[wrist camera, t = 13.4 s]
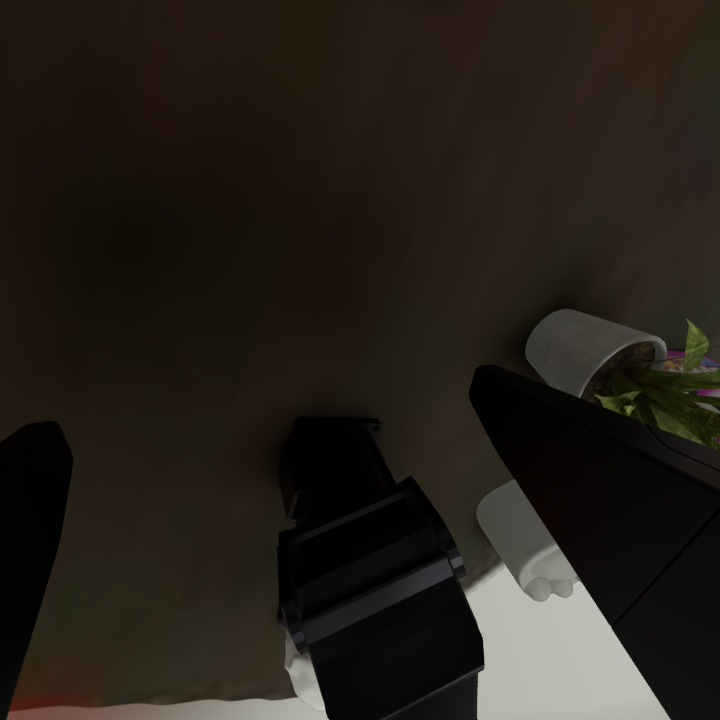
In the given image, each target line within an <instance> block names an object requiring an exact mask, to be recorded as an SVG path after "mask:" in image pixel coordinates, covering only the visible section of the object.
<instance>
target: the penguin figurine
mask: <svg viewBox="0 0 720 720" xmlns="http://www.w3.org/2000/svg"><path fill="white" fill-rule="evenodd" d="M285 668H286V669H287V671H288V672H289V673H290V677H291V681H292V683H293V686H294V690H295V693H296V694H297V696H298V697H299V698H300V699H301V701H303V702H304V703H305V704H307V705H309V706H311V707H312V708H313V709H314V710H318V711H319V710H324V709H325V706H324V701H323V699H322V696H321V692H320V689H319V685H318V682H317V679H316V675H315V672H314V669H313V665H312V662H311V658H310V655H307V656H305V657H302V656H301V655H300V654H299V652H298V651H297V649H296V647H295V645H294V642H293V640H292V638H291V636H290V633H289V632H287V637H286V659H285Z"/></svg>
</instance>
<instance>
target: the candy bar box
mask: <svg viewBox="0 0 720 720" xmlns="http://www.w3.org/2000/svg"><path fill="white" fill-rule="evenodd" d="M684 355H685V350H667V359H671V358H676V357H680V356H684ZM684 362H685V357H681V358H677V359H673V360H668V361H666V363H665V366H664V368H663V371H670V372H683V369H684ZM719 368H720V363H719V362H717V361H715V360H713V359H711V358H709V357H707V356H704V358H703V360H702V361H701V362H700V364H699V365H698V366H696V367H695V368H693V369H692V370H690V371H688V372H685V373H706V372H714V371H716V370H718V369H719ZM684 393H686V394H694V395H703V396H713V397H720V389H698V390H694V391H689V392H684ZM694 403H696V404H698V405H699V406H701V407H703V408H705V409H708V410H711V411H714V412H717V413H719V414H720V406H716V405H710V404H704V403H697V402H694ZM712 437H713V436H712ZM713 438H714V439H715V440H716V441H717V442H718V443H719V444H720V439H718V438H716V437H713ZM703 445H705V444H704V443H703ZM706 446H707V445H706Z"/></svg>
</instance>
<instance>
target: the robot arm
mask: <svg viewBox="0 0 720 720" xmlns="http://www.w3.org/2000/svg"><path fill="white" fill-rule="evenodd" d="M469 399H470V402H471V404H472V406H473V408H474V409H475V411H476V413H477V415H478V417H479V419H480V421H481V423H482V425H483V427H484V429H485V431H486V433H487V435H488V436H489V438H490V440H491V442H492V444H493V446H494V448H495V449H496V451H497V453H498V454H499V456H500V458H501V459H502V461H503V462H504V464H505V465H506V467H507V468H508V470H509V471H510V473H511V474H512V476H513V478H514V479H515V481H516V482H517V484H518V485H519V487H520V488H521V490H522V491H523V493H524V494H525V496H526V498H527V499H528V501H529V502H530V504H531V505H532V507H533V508H534V510H535V511H536V513H537V514H538V516H539V517H540V519H541V521H542V522H543V524H544V525H545V527H546V528H547V530H548V531H549V533H550V534H551V536H552V537H553V539H554V541H555V542H556V544H557V545H558V547H559V548H560V550H561V551H562V553H563V554H564V556H565V557H566V559H567V560H568V562H569V564H570V565H571V567H572V568H573V570H574V571H575V573H576V574H577V576H578V577H579V579H580V580H581V582H582V583H583V585H584V586H585V588H586V590H587V591H588V593H589V594H590V595H591V597H592V599H593V600H594V602H595V603H596V605H597V607H598V608H599V610H600V611H601V613H602V614H603V616H604V617H605V619H606V620H607V622H608V623H609V625H610V626H611V628H612V630H613V632H614V633H615V635H616V636H617V638H618V639H619V641H620V642H621V644H622V645H623V647H624V648H625V650H626V652H627V653H628V655H629V656H630V658H631V659H632V661H633V662H634V664H635V665H636V667H637V668H638V670H639V672H640V673H641V675H642V676H643V677H644V679H645V681H646V682H647V683H648V685H649V687H650V688H651V690H652V692H653V693H654V695H655V696H656V698H657V699H658V701H659V702H660V704H661V705H662V707H663V708H664V710H665V712H666V713H667V714H668V716H669V718H670V719H671V720H720V450H717V449H714V448H711V447H709V446H706V445H703V444H700V443H697V442H694V441H692V440H689V439H686V438H683V437H681V436H678V435H675V434H673V433H670V432H667V431H665V430H662V429H659V428H657V427H654V426H652V425H649V424H647V423H642V422H641V421H639V420H636V419H633V418H631V417H628V416H626V415H623V414H620V413H618V412H615V411H613V410H610V409H608V408H605V407H602V406H600V405H597V404H595V403H592V402H589V401H587V400H584V399H582V398H579V397H576V396H574V395H571V394H569V393H566V392H564V391H561V390H558V389H556V388H553V387H551V386H548V385H545V384H543V383H540V382H538V381H535V380H532V379H530V378H527V377H525V376H522V375H519V374H517V373H514V372H512V371H509V370H507V369H504V368H501V367H499V366H496V365H492V364H491V365H483V366H479V367H478V368H477V369H476V370H475V373H474V376H473V380H472V383H471V387H470V390H469ZM301 425H304V426H302V427H301ZM375 426H376V427H375ZM373 427H374V428H373ZM381 429H382V426H381V424H380V422H379V421H378V420H364V419H326V418H300V419H298V420H297V421H296V422H295V425H294V428H293V432H292V436H291V439H290V443H289V445H287V446H286V447H285V448H284V451H283V455H282V459H281V462H280V466H279V470H278V476H279V487H280V488H281V492H282V497H283V502H284V507H285V512H286V517H287V519H288V520H289V521H296V526H297V527H295V528H293V529H290V530H288V529H286V530H284V531H282V532H279V546H277V554H278V579H279V606H278V614H277V617H278V623H279V626H280V627H281V628H282V629H284V630H286V631H287V632H289V633H290V636H291V638H292V640H293V642H294V645H295V647H296V649H297V651H298V652H299V654H300V655H301V656H302V657H305V656H307V655H310V658H311V662H312V665H313V669H314V672H315V675H316V679H317V682H318V685H319V689H320V692H321V696H322V699H323V701H324V706H325V710H326V714H327V717H328V719H329V720H477V687H478V672H480V671H482V670H484V649H483V638H482V635H481V633H480V631H479V629H478V625H477V622H476V619H475V617H474V615H473V612H472V610H471V608H470V606H469V603H468V601H467V599H466V596H465V594H464V592H463V589H462V587H461V585H460V581H462V580H464V579H466V571H465V568H464V564H463V561H462V559H461V556H460V553H459V551H458V549H457V546H456V544H455V542H454V540H453V538H452V536H451V534H450V532H449V530H448V528H447V526H446V525H445V523H444V521H443V520H442V518H441V516H440V515H439V514H438V512H437V511H436V509H435V508H434V507H433V505H432V504H431V502H430V501H429V499H428V498H427V497H426V495H425V494H424V492H423V491H422V490H421V488H420V487H419V485H418V484H417V483H416V481H415V480H414V478H413V477H412V476H410V477H408V478H406V479H404V481H402V482H400V483H398V484H396V482H395V480H394V479H393V477H392V475H391V473H390V471H389V469H388V467H387V465H386V463H385V461H384V459H383V457H382V455H381V453H380V451H379V449H378V447H377V445H376V441H377V438H378V436H379V434H380V431H381ZM72 467H73V456H72V452H71V450H70V448H69V445H68V443H67V441H66V439H65V437H64V434H63V432H62V430H61V428H60V426H59V424H58V423H57V422H54V421H46V422H38V423H31V424H27V425H25V426H23V427H22V428H20V429H19V430H17V431H16V432H15V433H13V434H12V435H10V436H9V437H7V438H6V439H5V440H3V441H2V442H0V720H6V719H7V716H8V712H9V709H10V706H11V703H12V699H13V696H14V693H15V689H16V686H17V683H18V679H19V676H20V673H21V669H22V666H23V663H24V660H25V656H26V653H27V650H28V646H29V643H30V640H31V636H32V633H33V630H34V627H35V623H36V620H37V617H38V613H39V610H40V607H41V603H42V600H43V597H44V594H45V590H46V587H47V584H48V580H49V577H50V574H51V570H52V567H53V564H54V560H55V557H56V554H57V550H58V546H59V543H60V538H61V533H62V527H63V521H64V515H65V509H66V503H67V497H68V491H69V485H70V479H71V473H72Z"/></svg>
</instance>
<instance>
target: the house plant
mask: <svg viewBox="0 0 720 720" xmlns="http://www.w3.org/2000/svg"><path fill="white" fill-rule="evenodd" d="M685 318H686V317H685ZM686 320H687V322H688V324H689V330H688V335H687V340H686V348H685V355H684V356H680V357H676V358H671V359H667V348H666V344H665V342H664V341H663V340H661V339H660V338H659V337H656V336H653V335H650V334H647V333H644V332H641V331H638V330H635V329H632V328H628V327H625V326H622V325H619V324H616V323H613V322H610V321H607V320H604V319H601V318H597V317H594V316H591V315H588V314H585V313H582V312H579V311H576V310H572V309H561V310H558V311H555V312H553V313H551V314H550V315H548V316H547V317H545V318H544V319H543V320H542V321H541V322H540V323H539V324H538V325H537V326H536V327H535V329H534V330H533V331H532V333H531V335H530V336H529V338H528V341H527V344H526V348H525V355H526V359H527V360H528V362H529V363H530V364H531V365H532V366H533V368H534V369H535V370H536V371H537V372H538V373H539V375H540V376H541V377H542V378H543V379H544V380H545V381H546V383H547V384H548V385H549V386H551V387H553V388H556V389H558V390H561V391H564V392H566V393H569V394H571V395H574V396H576V397H579V398H582V399H584V400H587V401H589V402H592V403H595V404H597V405H600V406H602V407H605V408H608V409H610V410H613V411H615V412H618V413H620V414H623V415H626V416H628V417H631V418H633V419H636V420H639V421H641V422H642V423H647V424H649V425H652V426H654V427H657V428H659V429H662V430H665V431H667V432H670V433H673V434H675V435H678V436H681V437H683V438H686V439H689V440H692V441H694V442H697V443H700V444H703V443H704V444H705V445H707V446H709V447H711V448H714V449H717V450H720V444H719V443H718V442H717V441H716V440H715V439H714V438H713V437H716V438H718V439H720V414H719V413H717V412H714V411H711V410H708V409H705V408H703V407H701V406H699V405H698V404H696V403H694V402H697V403H704V404H710V405H716V406H720V397H713V396H703V395H694V394H686V393H684V392H689V391H694V390H698V389H720V368H719V369H718V370H716V371H714V372H706V373H685V372H688V371H690V370H692V369H693V368H695V367H696V366H698V365H699V364H700V362H701V361H702V360H703V358H704V356H705V354H706V352H707V350H710V349H708V346H709V342H708V339H707V337H706V336H705V335H704V334H703V332H702V331H701V330H699V329H698V328H697V327H696V326H695V325H694V324H692V323H691V322H690V321H689V320H688V319H687V318H686ZM719 346H720V345H719ZM716 347H718V346H716ZM713 348H715V347H713ZM711 349H712V348H711ZM681 357H685V362H684V369H683V372H670V371H663V368H664V366H665V363H666V361H668V360H673V359H677V358H681ZM712 436H713V437H712Z"/></svg>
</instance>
